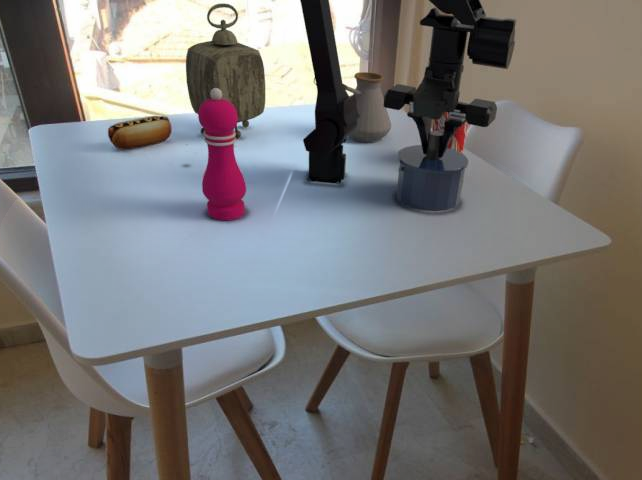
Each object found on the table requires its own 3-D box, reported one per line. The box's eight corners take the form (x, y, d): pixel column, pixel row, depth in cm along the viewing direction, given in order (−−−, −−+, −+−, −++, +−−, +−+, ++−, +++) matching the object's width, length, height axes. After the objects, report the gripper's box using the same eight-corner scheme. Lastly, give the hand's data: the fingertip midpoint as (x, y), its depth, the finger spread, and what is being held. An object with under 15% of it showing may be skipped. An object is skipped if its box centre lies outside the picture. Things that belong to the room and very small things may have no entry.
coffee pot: (364, 125, 147) (368, 56, 137) (400, 138, 141) (407, 67, 131) (297, 143, 134) (297, 68, 124) (334, 158, 128) (336, 81, 119)
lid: (396, 173, 106) (399, 142, 102) (397, 148, 116) (400, 118, 112) (469, 180, 106) (475, 148, 102) (464, 154, 116) (469, 125, 112)
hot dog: (178, 142, 129) (175, 118, 126) (119, 155, 122) (114, 129, 119) (165, 136, 132) (162, 111, 129) (107, 148, 124) (102, 122, 121)
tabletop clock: (248, 124, 142) (241, -2, 126) (271, 135, 137) (266, 6, 121) (192, 134, 134) (177, 1, 118) (214, 147, 129) (202, 10, 113)
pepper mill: (255, 209, 107) (248, 86, 94) (234, 225, 102) (225, 97, 89) (218, 200, 109) (207, 79, 96) (196, 216, 103) (181, 89, 91)
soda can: (459, 171, 127) (469, 111, 120) (426, 167, 128) (434, 107, 121) (462, 160, 133) (472, 101, 125) (430, 155, 134) (438, 97, 126)
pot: (395, 210, 111) (399, 169, 106) (397, 185, 120) (400, 146, 115) (460, 216, 111) (467, 175, 106) (456, 190, 120) (463, 152, 115)
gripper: (374, 59, 96) (367, 158, 106) (488, 79, 92) (470, 181, 102) (399, 47, 104) (391, 140, 114) (506, 65, 100) (487, 161, 110)
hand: (433, 155), depth 110 cm, fingers closed on lid, 3 cm apart
